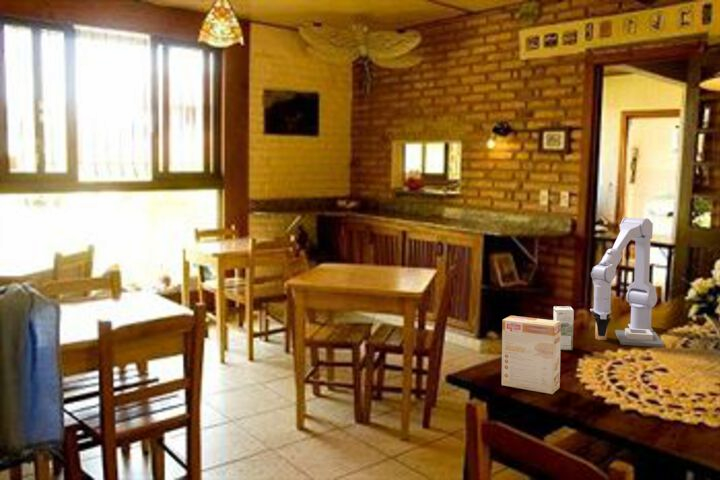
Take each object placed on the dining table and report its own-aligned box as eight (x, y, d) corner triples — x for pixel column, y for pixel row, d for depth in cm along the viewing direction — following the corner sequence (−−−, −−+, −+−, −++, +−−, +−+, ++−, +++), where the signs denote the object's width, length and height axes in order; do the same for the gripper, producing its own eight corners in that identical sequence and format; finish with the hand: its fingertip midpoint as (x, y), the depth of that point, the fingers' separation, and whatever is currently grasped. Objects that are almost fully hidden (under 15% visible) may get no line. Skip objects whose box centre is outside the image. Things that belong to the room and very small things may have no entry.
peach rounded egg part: (594, 337, 238) (595, 321, 237) (606, 337, 236) (606, 321, 236) (595, 339, 234) (596, 323, 233) (607, 340, 233) (607, 324, 232)
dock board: (615, 332, 244) (615, 324, 244) (655, 334, 240) (655, 326, 240) (620, 344, 227) (621, 336, 226) (663, 347, 223) (664, 338, 223)
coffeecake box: (560, 387, 182) (561, 320, 180) (552, 395, 176) (554, 325, 174) (509, 378, 190) (510, 314, 188) (500, 385, 184) (501, 319, 182)
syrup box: (568, 346, 225) (570, 305, 224) (572, 350, 219) (573, 309, 218) (552, 345, 226) (553, 305, 224) (555, 350, 220) (556, 309, 218)
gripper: (589, 293, 241) (588, 329, 243) (592, 301, 228) (590, 338, 229) (609, 294, 240) (608, 330, 241) (613, 302, 226) (612, 339, 227)
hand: (601, 334), depth 235 cm, fingers closed on peach rounded egg part, 4 cm apart
